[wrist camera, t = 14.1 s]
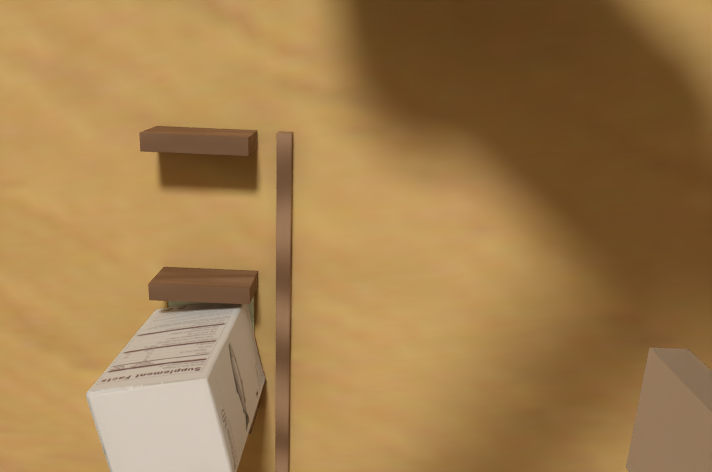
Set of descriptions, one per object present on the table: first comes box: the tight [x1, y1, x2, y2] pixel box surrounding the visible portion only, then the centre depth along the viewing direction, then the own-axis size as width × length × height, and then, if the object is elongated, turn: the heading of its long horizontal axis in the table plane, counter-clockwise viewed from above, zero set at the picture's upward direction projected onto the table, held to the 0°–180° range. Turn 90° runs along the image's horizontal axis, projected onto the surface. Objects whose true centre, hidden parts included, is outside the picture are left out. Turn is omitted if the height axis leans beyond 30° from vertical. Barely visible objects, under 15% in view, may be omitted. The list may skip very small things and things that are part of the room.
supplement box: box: [86, 302, 265, 472], centre depth 42 cm, size 7×7×13 cm
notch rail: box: [139, 126, 293, 472], centre depth 46 cm, size 32×10×4 cm, turn 178°
